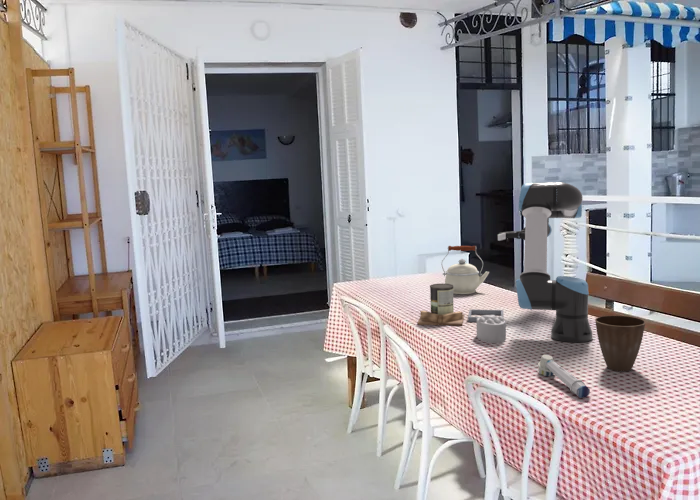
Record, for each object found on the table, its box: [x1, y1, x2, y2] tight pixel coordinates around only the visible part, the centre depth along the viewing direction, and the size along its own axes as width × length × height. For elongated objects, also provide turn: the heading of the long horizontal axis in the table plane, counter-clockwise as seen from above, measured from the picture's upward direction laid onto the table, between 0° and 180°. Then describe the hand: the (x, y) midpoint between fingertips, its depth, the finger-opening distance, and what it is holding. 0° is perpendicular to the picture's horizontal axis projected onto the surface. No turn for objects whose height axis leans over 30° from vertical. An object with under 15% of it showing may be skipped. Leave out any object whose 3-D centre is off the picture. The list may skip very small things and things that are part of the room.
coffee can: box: [429, 283, 454, 315], centre depth 277 cm, size 10×10×14 cm
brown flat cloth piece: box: [416, 310, 465, 327], centre depth 275 cm, size 16×19×4 cm
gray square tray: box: [467, 308, 505, 323], centre depth 278 cm, size 15×15×2 cm
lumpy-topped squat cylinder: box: [476, 314, 507, 344], centre depth 245 cm, size 10×13×9 cm
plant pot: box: [594, 315, 646, 372], centre depth 205 cm, size 15×15×16 cm
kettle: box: [441, 245, 490, 295], centre depth 334 cm, size 25×18×25 cm
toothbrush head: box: [537, 354, 591, 399], centre depth 193 cm, size 5×7×25 cm
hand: (512, 238), depth 274 cm, fingers open, 13 cm apart
